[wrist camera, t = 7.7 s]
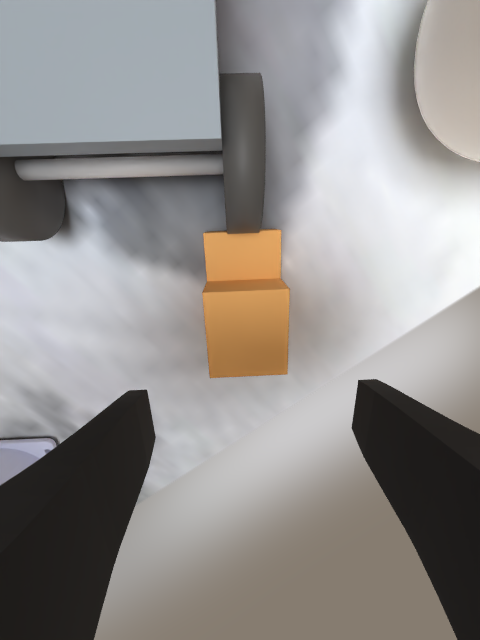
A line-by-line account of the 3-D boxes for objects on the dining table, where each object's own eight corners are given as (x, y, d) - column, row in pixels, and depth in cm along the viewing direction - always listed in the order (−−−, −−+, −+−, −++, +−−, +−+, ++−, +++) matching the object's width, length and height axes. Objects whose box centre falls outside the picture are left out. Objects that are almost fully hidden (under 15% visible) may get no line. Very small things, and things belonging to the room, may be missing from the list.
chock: (273, 335, 18) (287, 374, 14) (215, 338, 18) (209, 378, 14) (273, 228, 16) (291, 231, 11) (207, 231, 16) (197, 235, 11)
